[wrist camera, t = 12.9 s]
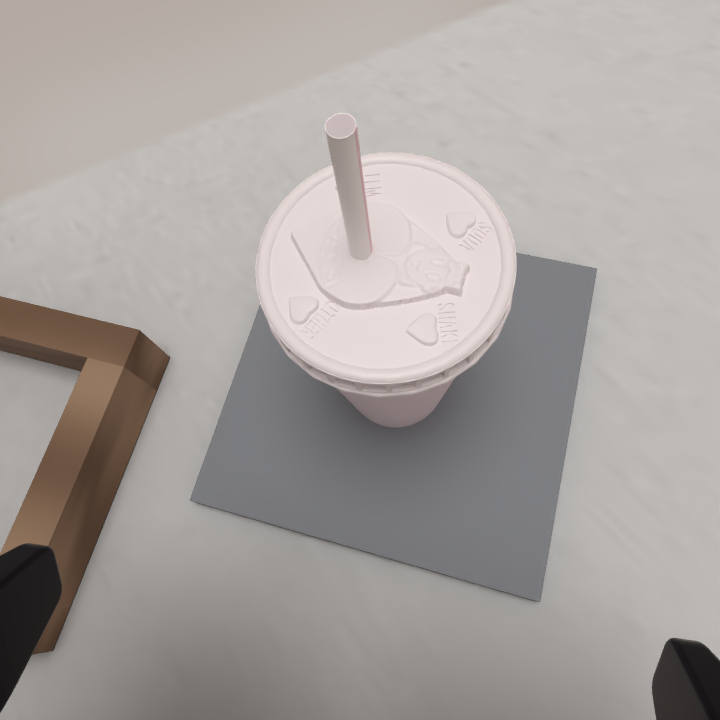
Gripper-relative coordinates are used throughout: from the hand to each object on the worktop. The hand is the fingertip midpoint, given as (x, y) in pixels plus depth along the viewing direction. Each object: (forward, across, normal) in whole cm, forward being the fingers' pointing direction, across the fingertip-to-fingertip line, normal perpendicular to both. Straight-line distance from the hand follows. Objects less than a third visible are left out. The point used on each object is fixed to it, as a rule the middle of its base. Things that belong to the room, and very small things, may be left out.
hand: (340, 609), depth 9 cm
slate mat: (+15, 0, +4) cm, 16 cm away
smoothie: (+15, 0, +4) cm, 15 cm away
